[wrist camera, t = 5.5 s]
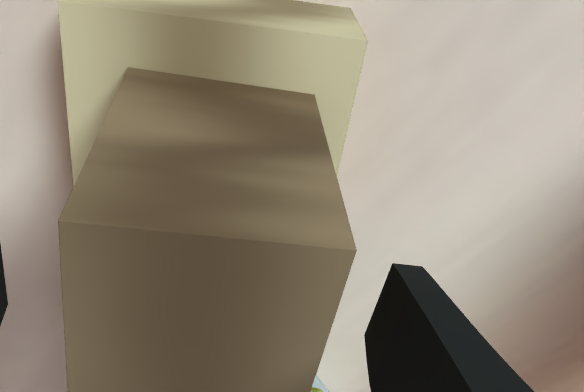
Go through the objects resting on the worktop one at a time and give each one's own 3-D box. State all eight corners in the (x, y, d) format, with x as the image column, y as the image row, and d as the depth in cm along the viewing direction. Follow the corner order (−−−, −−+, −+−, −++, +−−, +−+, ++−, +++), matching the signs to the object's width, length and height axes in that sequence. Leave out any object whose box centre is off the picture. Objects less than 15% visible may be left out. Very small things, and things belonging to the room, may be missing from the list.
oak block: (348, 4, 15) (367, 40, 13) (307, 206, 19) (316, 263, 17) (89, -31, 14) (57, 0, 12) (101, 189, 18) (78, 246, 16)
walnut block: (314, 94, 14) (356, 250, 9) (282, 235, 16) (300, 419, 11) (127, 67, 13) (58, 220, 8) (123, 219, 15) (69, 409, 10)
